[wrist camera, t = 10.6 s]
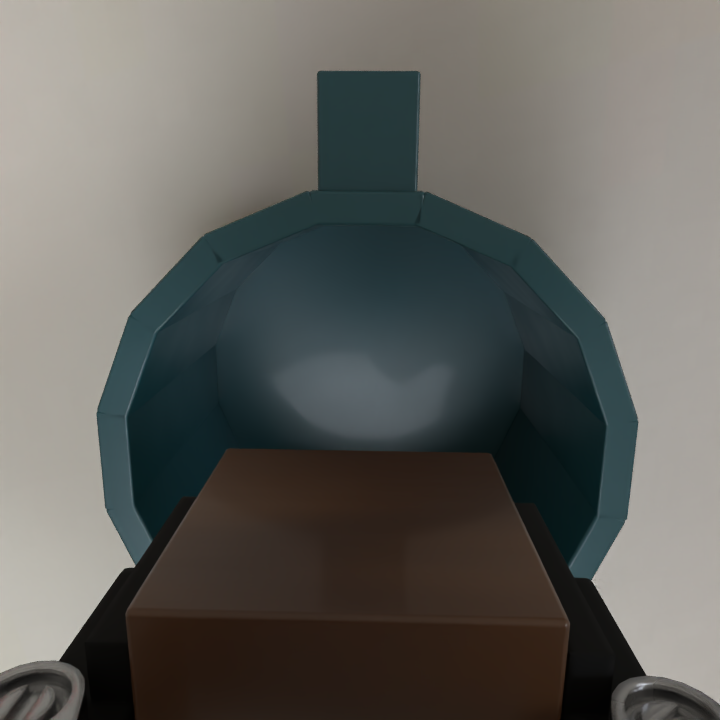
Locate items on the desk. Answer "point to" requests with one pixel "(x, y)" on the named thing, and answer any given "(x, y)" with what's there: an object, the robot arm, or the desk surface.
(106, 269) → the desk surface
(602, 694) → the robot arm
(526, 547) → the block
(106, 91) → the desk surface
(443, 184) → the desk surface
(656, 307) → the desk surface
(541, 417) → the pot
